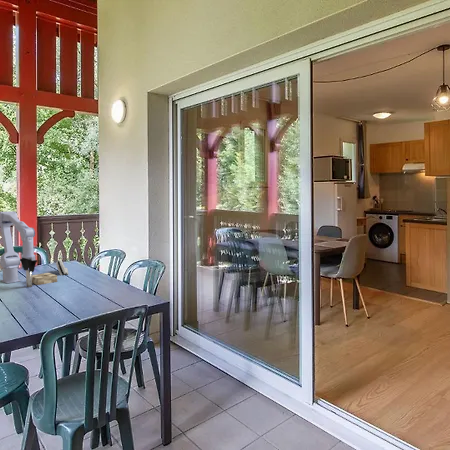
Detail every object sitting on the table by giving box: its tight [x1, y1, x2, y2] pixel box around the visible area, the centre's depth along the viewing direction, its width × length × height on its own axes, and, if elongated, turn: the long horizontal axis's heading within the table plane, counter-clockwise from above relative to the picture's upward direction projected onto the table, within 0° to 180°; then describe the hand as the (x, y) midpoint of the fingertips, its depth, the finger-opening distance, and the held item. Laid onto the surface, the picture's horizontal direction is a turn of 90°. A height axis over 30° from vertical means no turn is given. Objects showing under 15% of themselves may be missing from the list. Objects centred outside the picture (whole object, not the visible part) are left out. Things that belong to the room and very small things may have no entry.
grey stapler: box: [55, 259, 69, 276], centre depth 262 cm, size 17×5×10 cm, turn 24°
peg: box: [25, 269, 33, 288], centre depth 223 cm, size 3×3×10 cm
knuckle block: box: [32, 272, 58, 286], centre depth 236 cm, size 12×12×4 cm
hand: (28, 271), depth 223 cm, fingers open, 7 cm apart
